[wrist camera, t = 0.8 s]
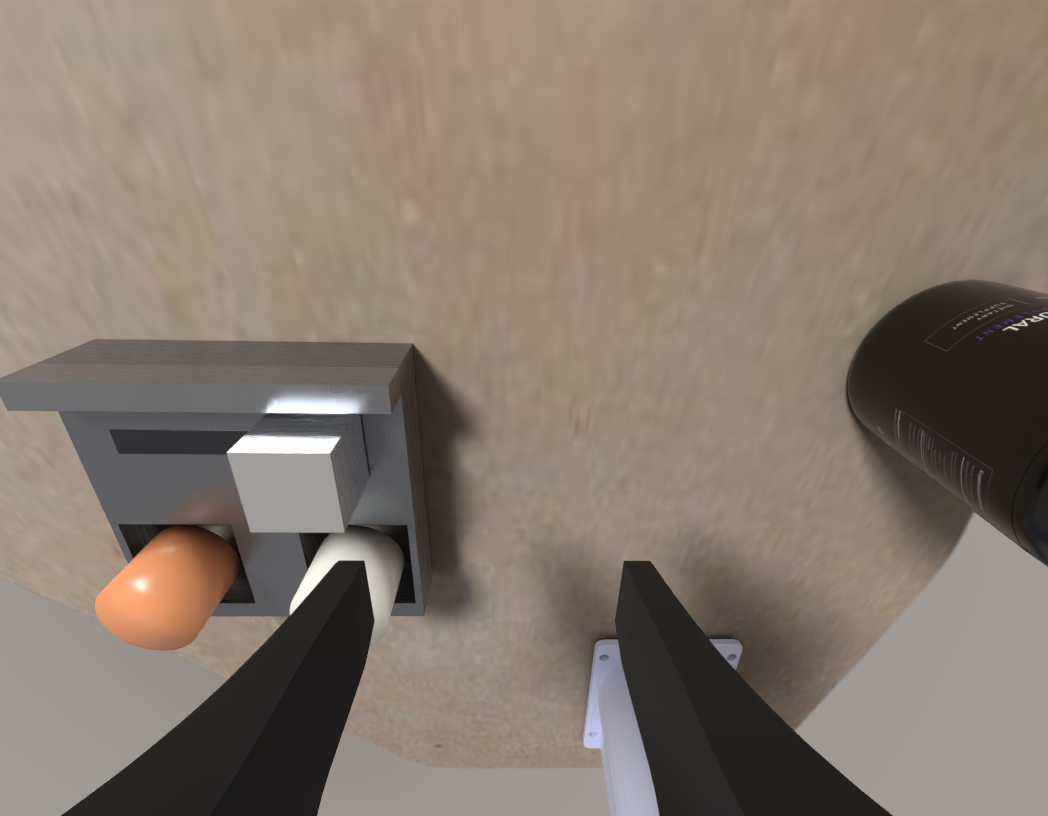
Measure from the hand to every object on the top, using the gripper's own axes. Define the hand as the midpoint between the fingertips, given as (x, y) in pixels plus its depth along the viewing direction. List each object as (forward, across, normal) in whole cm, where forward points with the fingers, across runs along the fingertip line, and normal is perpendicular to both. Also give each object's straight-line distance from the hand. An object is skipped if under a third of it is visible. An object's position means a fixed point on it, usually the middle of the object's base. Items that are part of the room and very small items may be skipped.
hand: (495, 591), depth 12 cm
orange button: (+7, +13, +6) cm, 16 cm away
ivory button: (+7, +6, +6) cm, 11 cm away
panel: (+9, +10, +3) cm, 14 cm away
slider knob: (+7, +6, 0) cm, 9 cm away
